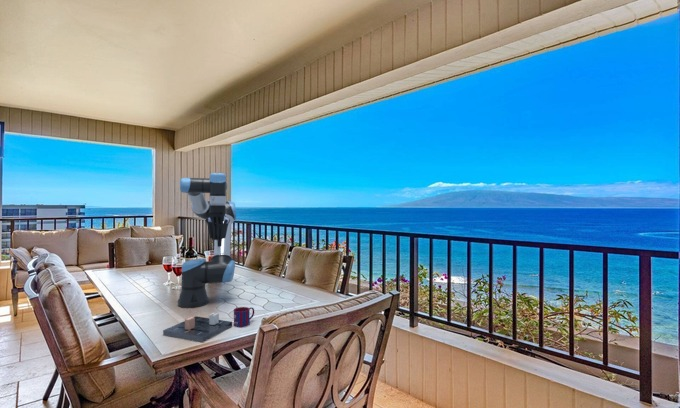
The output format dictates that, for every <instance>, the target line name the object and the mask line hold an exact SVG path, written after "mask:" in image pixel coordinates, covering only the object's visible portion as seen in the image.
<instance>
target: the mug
mask: <svg viewBox="0 0 680 408" xmlns="http://www.w3.org/2000/svg"><path fill="white" fill-rule="evenodd" d="M250 310H252V312H251V311H250ZM250 312H251V315H250ZM254 316H255V308H254V307H248V306H238V307H236V308H234V309H233V326H234V327H235V328H243V327H244V328H245V327H247V326H249V325H250V320H251V319H252V318H253V317H254Z"/></svg>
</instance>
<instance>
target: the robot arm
mask: <svg viewBox="0 0 680 408" xmlns="http://www.w3.org/2000/svg"><path fill="white" fill-rule="evenodd" d="M179 189H180V192H181V193H183V194H187V196H188V197H189V200H190V202H191V209H192V212H193V213H194V214H195V215H196V216H198V217H199V218H201V219H203V220H205V222H206V224H207V230H208V235H209V238H210V239H212V241H213V248H214V249H213V255H212V256H211V258H210V261H206V259H205V258H195V259H190V260H187V261H184V262H183V263H182V265H181V291H180V293H179V297H178V300H177V307H180V308H185V309H189V308H198V307H202V306H206V305H207V304H208V303H209V301H210V299H209V296H208V293H207V289H206V284H217V283H218V284H219V283H220V284H221V283H223V284H224V283H231V282H232V281H233V279H234V275H235V268H236V261H235V260H233V257H232V256H231V234H232V233H231V232H232V231H231V230H232V224H233V223H234V222H235V221H236V220H237V210H236V208H237V207H236V204H235V202H234V201H228V200H227V189H228V183H227V175H226V173H223V172H222V173H219V172H212V173H210V174H209V178H204V177H203V178H202V177H201V178H200V177H182V178H181V179H180V181H179ZM205 194H209V200H206V197H205Z"/></svg>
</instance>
